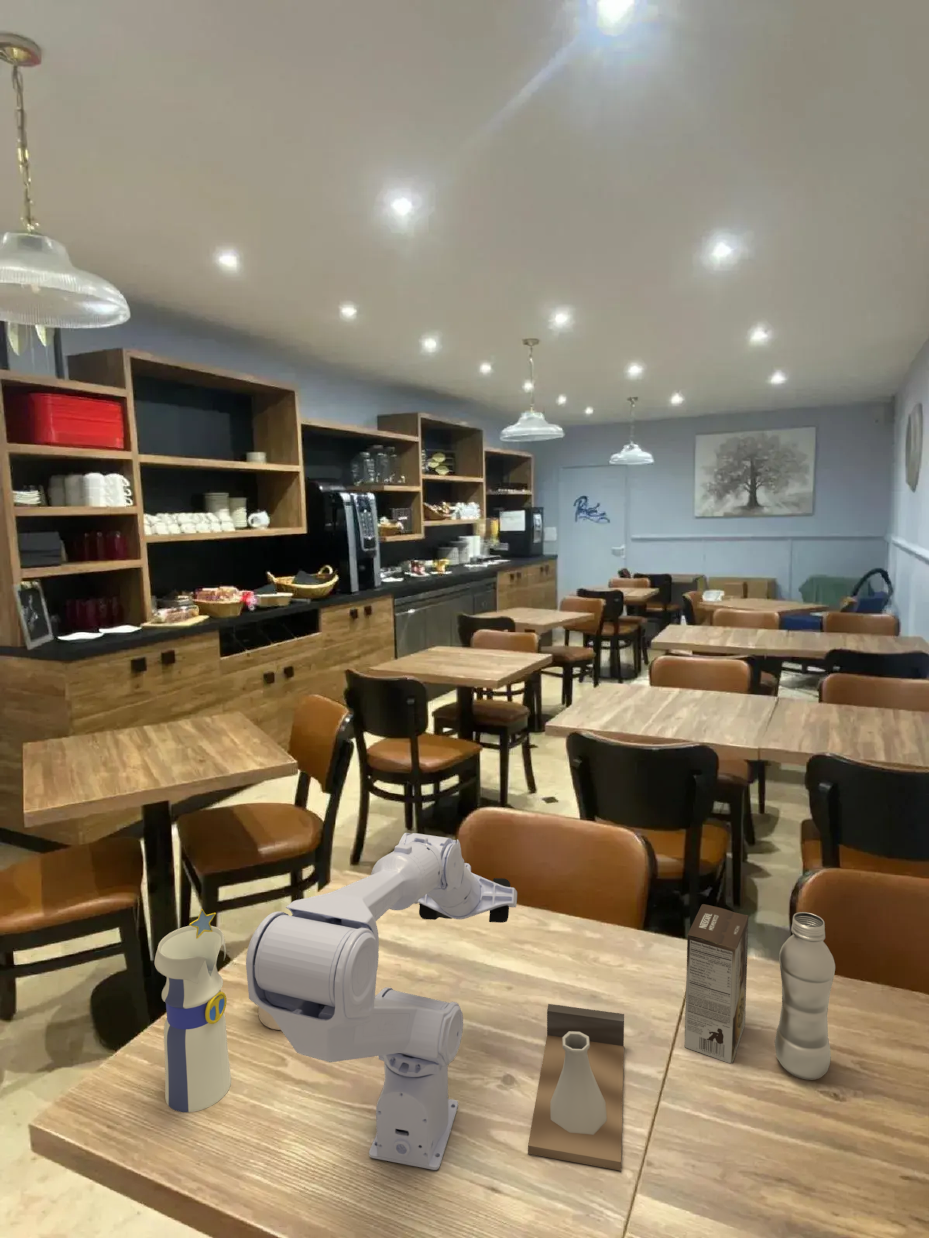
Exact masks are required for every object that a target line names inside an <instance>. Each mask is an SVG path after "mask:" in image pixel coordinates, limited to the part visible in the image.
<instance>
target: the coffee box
mask: <svg viewBox="0 0 929 1238" xmlns="http://www.w3.org/2000/svg"><path fill="white" fill-rule="evenodd" d="M686 939H687V941H686V943H687V945H686V946H687V947H686V978H685V979H686V981H685V985H686V986H685V1009H684V1010H685V1011H684V1012H685V1013H684V1047H685V1048H686V1049H689V1050H691V1051H695V1052H698V1053H699V1054H702V1055H706V1056H709V1057H710V1058H714V1059H717V1060H719V1061H722V1062H725V1063H728V1064H733V1062H734V1060H735V1057H736V1054H737V1051H738V1048H739V1044H740V1041H741V1038H742V1034H743V1032H744V1029H745V1025H746V1013H747V1011H746V1007H747V1004H746V1003H747V976H748V975H747V973H748V949H749V948H748V947H749V945H748V943H749V942H748V941H749V915H747V914H743V913H738V912H733V911H732V910H729V909H726V908H723V907H718V906H713V905H709V904H704V903H703V904H701V905H700V908H699V910H698V912H697V914H696V915H695V918H694V919H693V922H692V924H691V927H689V930H688V932H687V936H686Z"/></svg>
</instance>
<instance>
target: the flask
mask: <svg viewBox="0 0 929 1238" xmlns="http://www.w3.org/2000/svg"><path fill="white" fill-rule="evenodd" d="M562 1041H563V1049H564V1050H565V1059H564V1065H563V1069H562V1072H561V1075H560V1078H559V1081H558V1084H557V1086H556V1089H555V1091H554V1094H553V1096H552V1099H551V1102H550V1110H551V1120H552V1121H553V1122H555V1123H556V1124H558V1125H559V1126H561V1127H562V1128H564V1129H565V1130H567V1131H568V1132H570V1133H581V1134H591V1135H594V1134H595V1133H596V1132H597V1131H598V1130H599V1129H600V1127H601V1126H602V1125H603V1124H604V1123H605V1122H606V1121H607V1115H606V1103H605V1100H604V1098H603V1096H602V1093H601V1091H600V1089H599V1087H598V1085H597V1082H596V1080H595V1077H594V1075H593V1073H592V1070H591V1068H590V1064H589V1059H588V1055H587V1050H588V1049H589V1047H590V1043H589V1036H587V1035H585V1034H583V1033H581V1032H573V1031H569V1032H568V1033H567V1034H565V1035H564V1036H563V1038H562Z"/></svg>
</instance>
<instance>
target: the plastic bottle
mask: <svg viewBox="0 0 929 1238" xmlns="http://www.w3.org/2000/svg"><path fill="white" fill-rule="evenodd" d="M825 924H826V923H825V921H824V919H823V918H822V917H821V916H819V915H817V914H815V913H811V912H806V911H802V912H801V911H799V912H798V911H797V912H796V913H794V914H793V915H792V924H791V928H790V929H791V933H792V935H791V936H789V937H788V938H787V939H786V941H784V943H782V946H781V948H780V950H779V954H778V957H779V970H780V971H779V972H780V979H781V1008H780V1016H779V1022H778V1026H777V1030H776V1033H775V1038H774V1049H775V1055H776V1058H777V1060H778V1061H779V1063H780V1065H781V1066H782V1068H784V1070H785V1071H786V1072H788V1073H789V1074H791V1075H792V1076H794V1077H796V1078H799V1079H803V1080H809V1081H813V1080H818V1079H820V1078H822V1077H823V1076H825V1074H827V1072H828V1070H829V1067H830V1064H831V1058H832V1056H831V1046H830V1041H829V1027H828V1025H829V1022H828V1012H829V1003H830V995H831V991H832V990H831V989H832V987H833V982H834V981H833V980H834V978H835V974H836V973H835V971H836V963H835V959H834V956H833V954H832V953H831V951H830V949H829V947H828V946H827V944H826V943H825V942H824V940H825V939H826V930H825V928H826V927H825V926H826V925H825Z"/></svg>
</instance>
